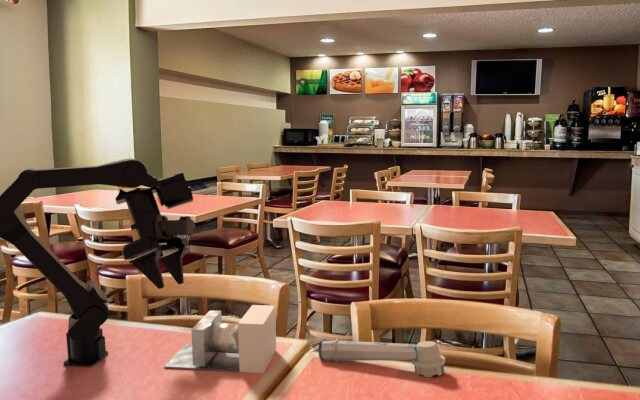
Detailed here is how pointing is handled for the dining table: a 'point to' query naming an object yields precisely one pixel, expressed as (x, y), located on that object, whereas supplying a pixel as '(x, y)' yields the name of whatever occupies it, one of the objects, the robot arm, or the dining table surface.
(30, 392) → the dining table surface
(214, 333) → the grey piece
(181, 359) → the plate
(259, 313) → the socket
